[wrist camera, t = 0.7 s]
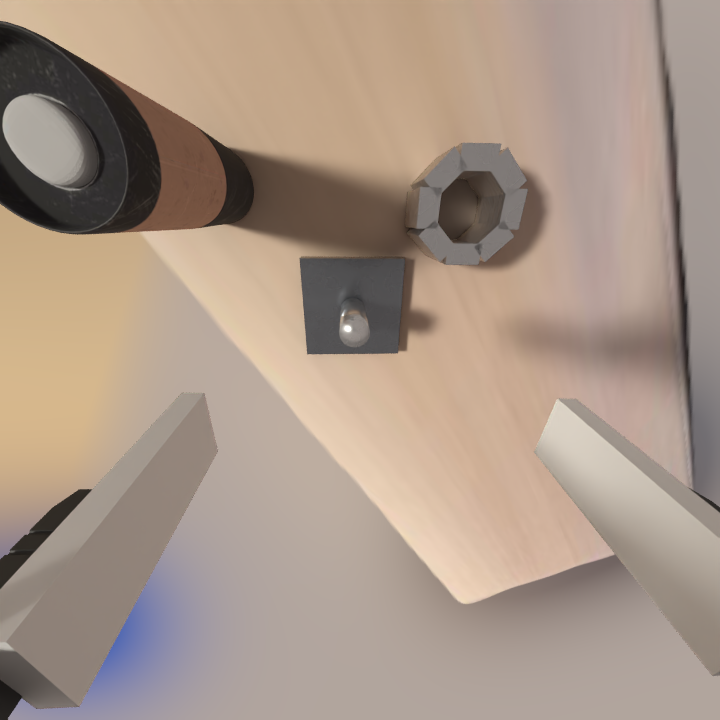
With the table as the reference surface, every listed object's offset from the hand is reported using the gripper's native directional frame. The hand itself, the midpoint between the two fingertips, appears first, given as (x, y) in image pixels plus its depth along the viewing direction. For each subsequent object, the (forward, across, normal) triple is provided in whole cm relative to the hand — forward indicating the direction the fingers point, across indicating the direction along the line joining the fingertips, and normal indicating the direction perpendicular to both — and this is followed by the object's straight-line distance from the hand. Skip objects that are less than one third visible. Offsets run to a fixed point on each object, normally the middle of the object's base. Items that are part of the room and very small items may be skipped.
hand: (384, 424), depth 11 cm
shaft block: (+27, 0, -3) cm, 27 cm away
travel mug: (+27, -15, +9) cm, 33 cm away
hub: (+27, +10, +8) cm, 30 cm away
